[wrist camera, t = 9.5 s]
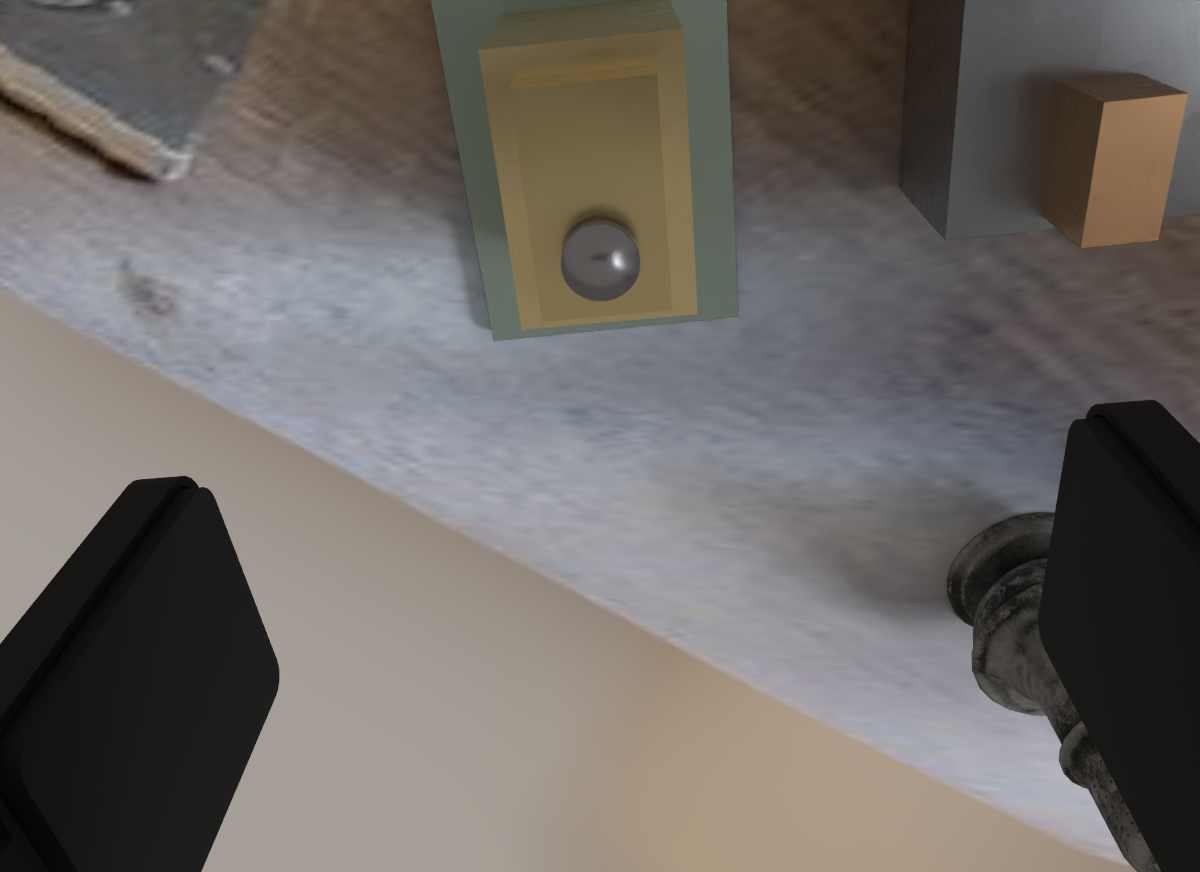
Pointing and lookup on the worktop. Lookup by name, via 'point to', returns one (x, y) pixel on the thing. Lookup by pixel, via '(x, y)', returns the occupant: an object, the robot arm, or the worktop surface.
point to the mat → (470, 12)
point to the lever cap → (593, 161)
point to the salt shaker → (1031, 657)
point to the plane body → (1052, 117)
